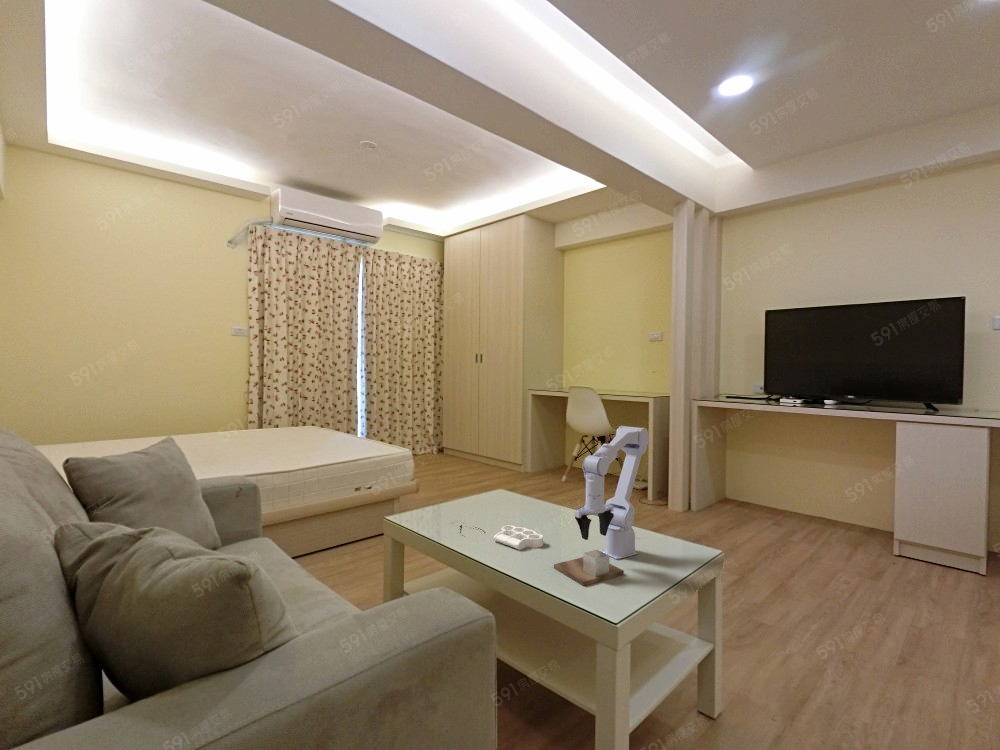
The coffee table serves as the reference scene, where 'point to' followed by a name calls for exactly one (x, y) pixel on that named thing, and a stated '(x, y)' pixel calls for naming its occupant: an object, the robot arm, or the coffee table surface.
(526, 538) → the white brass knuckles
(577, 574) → the walnut board
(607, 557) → the brushed aluminum cube
